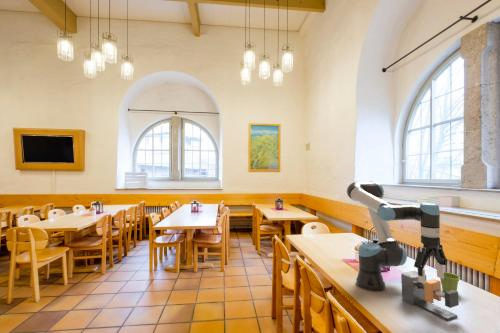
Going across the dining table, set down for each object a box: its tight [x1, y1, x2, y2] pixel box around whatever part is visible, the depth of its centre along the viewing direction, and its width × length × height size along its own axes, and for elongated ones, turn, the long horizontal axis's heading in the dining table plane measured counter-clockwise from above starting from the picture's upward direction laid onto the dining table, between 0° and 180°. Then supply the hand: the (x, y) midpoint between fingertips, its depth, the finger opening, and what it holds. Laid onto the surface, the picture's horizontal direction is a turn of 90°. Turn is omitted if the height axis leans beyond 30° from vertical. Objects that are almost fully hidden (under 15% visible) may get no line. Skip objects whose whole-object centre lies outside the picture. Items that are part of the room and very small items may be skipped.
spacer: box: [424, 278, 442, 304], centre depth 116 cm, size 3×7×9 cm, turn 111°
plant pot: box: [439, 271, 461, 293], centre depth 134 cm, size 9×9×9 cm
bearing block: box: [400, 270, 458, 322], centre depth 118 cm, size 20×10×14 cm, turn 21°
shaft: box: [419, 284, 460, 309], centre depth 115 cm, size 15×6×6 cm, turn 21°
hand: (431, 280), depth 117 cm, fingers open, 13 cm apart
